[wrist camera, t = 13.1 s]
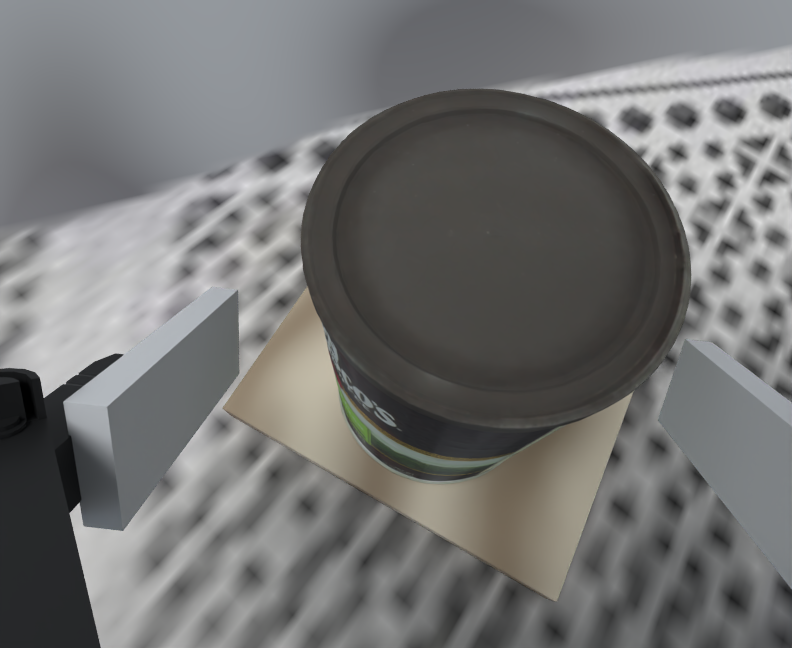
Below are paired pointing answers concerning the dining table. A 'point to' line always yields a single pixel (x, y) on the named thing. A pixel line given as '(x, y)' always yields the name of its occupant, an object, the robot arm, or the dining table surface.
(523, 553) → the plain beige board
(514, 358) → the coffee can
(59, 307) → the dining table surface
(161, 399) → the robot arm
